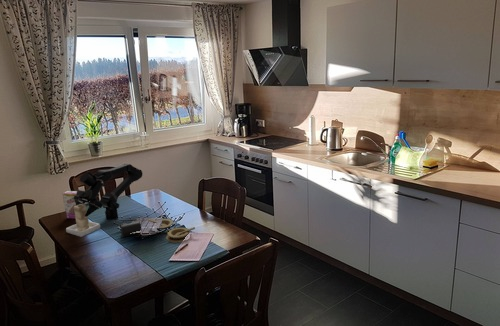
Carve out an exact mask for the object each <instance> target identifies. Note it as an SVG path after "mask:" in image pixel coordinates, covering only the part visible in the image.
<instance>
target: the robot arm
mask: <svg viewBox="0 0 500 326" xmlns="http://www.w3.org/2000/svg"><path fill="white" fill-rule="evenodd" d="M122 173H127V174H126V177H124V179H123V180H121V182H120V183H119V184H118V185H117V186H116V187H115V188H114V189H113V190H112V191H111V192H105V193H104V195H102V196H101V198H100V200H99V199H97V197H100V192H101V189H102V188H107V185H106V182H108V181H109V180H111V179H112V178H113V177H114V176H117V175H120V174H122ZM141 178H143V171H142V170H141V169H139V168H137V167H135V166H133V165H132V164H130V163H124V164H121V165H117V166H115V167H112V168H110V169H109V168H108V169H100V170H99V169H98V170H97V171H96V172H95V173H93V174H92V173H91V172H90V171H86V172H84V173H83V174H82V175H81V176H80V178H79V182H81V183H82V184H84V185H85V186H87V187H89V188H88V189H87V188H86V189H84V190H80V189H77V190H76V191H77V194H76V195H75V196H74V198H73V199H74V201H75V203H76V206H77V205H79V204H83V205H84V203H85V204H86V203H87V204H88V208H87V212H86V214H85V217H87V216H88V217H89V216H90V215H91V214H93V213H94V212H96V211H97V210H99V209H102V208H104V209H105V210H104V214H105V219H106V221H110V220H115V219H119V215H118V209H119V208H120V203H118V199H119V197H120V196H121V195H122V194H123V193H124V192H125V191H126V190H127V189H128V188H129V186H131V185H132V184H133V183H134V182H136V181H139V180H140V179H141ZM74 214H75V212H74Z"/></svg>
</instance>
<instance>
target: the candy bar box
mask: <svg viewBox="0 0 500 326" xmlns="http://www.w3.org/2000/svg"><path fill="white" fill-rule="evenodd" d="M76 194H77V190H76V191H74V190H66V191H65V192H62V199H63V204H64V210H65V215H66V219H73V220H74V219H75V220H76V218H75V214H74V206H76V203H75V201H74V199H73V198H74V196H75V195H76ZM84 205H86V203H84Z"/></svg>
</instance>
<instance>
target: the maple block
mask: <svg viewBox="0 0 500 326" xmlns="http://www.w3.org/2000/svg"><path fill="white" fill-rule="evenodd" d="M87 210H88V208H87V205H86V204H85V205H83V204H79V205H77V206H74V212H75V218H76V219H75V223H76V224H77V230H79V231H84V230H86V229H88V228H89V222H88V221H89V215H88V216H87V217H85V214H86V212H87Z"/></svg>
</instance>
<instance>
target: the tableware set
mask: <svg viewBox="0 0 500 326" xmlns="http://www.w3.org/2000/svg"><path fill="white" fill-rule="evenodd" d="M161 219H162V224H161V226H159V229H167V228H170V226H171V225H173V221H174V220H173V219H170V218H161ZM172 220H173V221H172ZM148 221H149V222H151V223H152V224H153V223H157V222H156V221H157V220H154V219H153V218H152V219H151V218H148V219H147V222H148ZM174 227H175V228H174V229H170V230H167V231H166V232H165V233H167V235H166V238H165V239H166V241H167V242H168V243H169V242H170V243H174V244H176V243H177V242H179V243H183V242H182V241H183V240H184V239H185V237H186V236H187V235H188V234H189V233H191V231H194V230H195V229H196V227H195V226H192V227H190V228H186V227H176V225H175V226H174ZM168 231H169V232H168Z"/></svg>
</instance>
